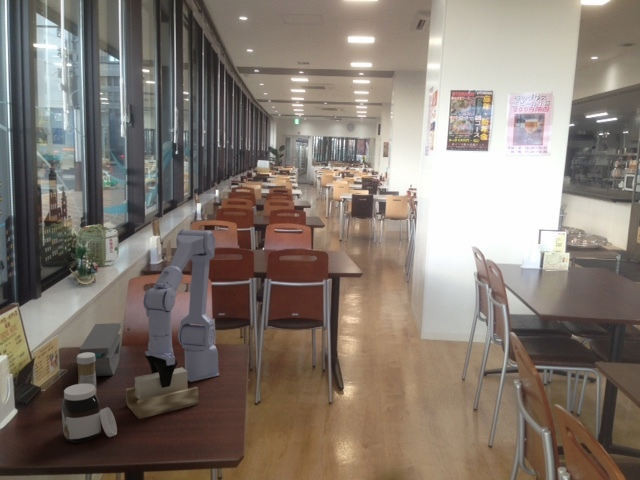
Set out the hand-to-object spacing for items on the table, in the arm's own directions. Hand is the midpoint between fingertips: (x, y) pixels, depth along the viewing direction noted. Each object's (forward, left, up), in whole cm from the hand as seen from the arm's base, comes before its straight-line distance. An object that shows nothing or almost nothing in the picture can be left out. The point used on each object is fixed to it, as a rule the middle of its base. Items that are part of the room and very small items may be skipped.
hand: (161, 383), depth 155 cm
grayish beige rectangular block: (0, 0, -2) cm, 3 cm away
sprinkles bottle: (+16, -12, -6) cm, 21 cm away
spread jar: (+20, +7, -6) cm, 22 cm away
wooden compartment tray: (0, 0, -6) cm, 6 cm away
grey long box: (+6, -35, -6) cm, 36 cm away
